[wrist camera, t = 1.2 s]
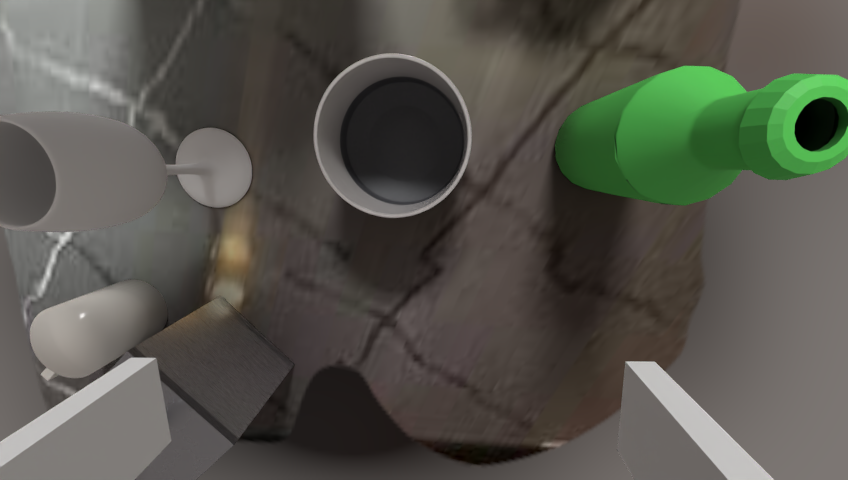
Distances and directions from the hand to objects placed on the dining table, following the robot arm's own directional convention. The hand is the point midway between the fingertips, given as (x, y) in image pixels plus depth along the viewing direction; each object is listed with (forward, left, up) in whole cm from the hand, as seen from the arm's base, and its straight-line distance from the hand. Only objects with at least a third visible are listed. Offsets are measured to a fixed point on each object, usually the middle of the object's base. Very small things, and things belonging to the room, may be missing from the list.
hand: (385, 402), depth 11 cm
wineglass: (-21, -13, -33) cm, 41 cm away
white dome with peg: (-17, -35, -33) cm, 51 cm away
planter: (-8, +4, -33) cm, 34 cm away
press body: (-5, -30, -33) cm, 45 cm away
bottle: (+6, +18, -33) cm, 38 cm away
